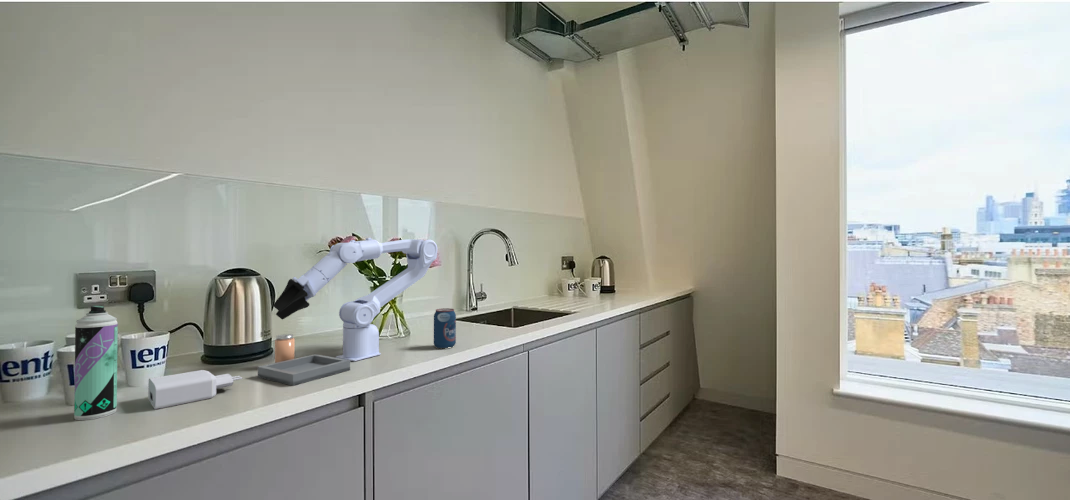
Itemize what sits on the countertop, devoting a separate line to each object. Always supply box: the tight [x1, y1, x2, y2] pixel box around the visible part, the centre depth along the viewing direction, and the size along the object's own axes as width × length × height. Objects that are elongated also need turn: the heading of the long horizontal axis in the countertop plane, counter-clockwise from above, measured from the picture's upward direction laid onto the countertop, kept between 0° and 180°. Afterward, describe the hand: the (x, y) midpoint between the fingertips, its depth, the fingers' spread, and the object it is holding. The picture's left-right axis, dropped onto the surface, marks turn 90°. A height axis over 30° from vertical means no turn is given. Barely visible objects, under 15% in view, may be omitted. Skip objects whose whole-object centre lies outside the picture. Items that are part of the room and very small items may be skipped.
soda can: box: [433, 308, 457, 349], centre depth 138 cm, size 7×7×12 cm
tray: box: [257, 353, 351, 387], centre depth 107 cm, size 15×14×2 cm
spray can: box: [73, 305, 119, 421], centre depth 79 cm, size 6×6×20 cm
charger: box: [147, 369, 243, 410], centre depth 90 cm, size 5×9×15 cm
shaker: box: [274, 333, 296, 363], centre depth 113 cm, size 4×4×8 cm
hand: (277, 312), depth 108 cm, fingers open, 7 cm apart
